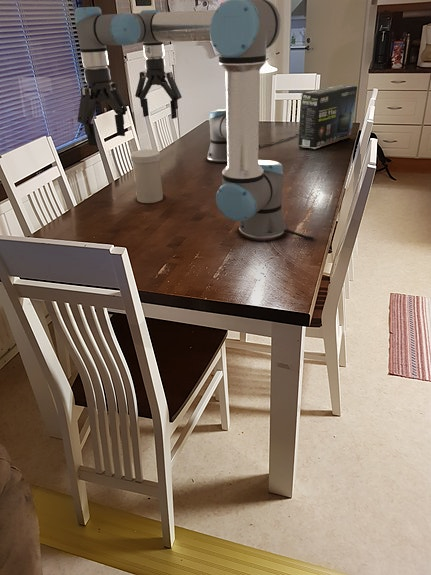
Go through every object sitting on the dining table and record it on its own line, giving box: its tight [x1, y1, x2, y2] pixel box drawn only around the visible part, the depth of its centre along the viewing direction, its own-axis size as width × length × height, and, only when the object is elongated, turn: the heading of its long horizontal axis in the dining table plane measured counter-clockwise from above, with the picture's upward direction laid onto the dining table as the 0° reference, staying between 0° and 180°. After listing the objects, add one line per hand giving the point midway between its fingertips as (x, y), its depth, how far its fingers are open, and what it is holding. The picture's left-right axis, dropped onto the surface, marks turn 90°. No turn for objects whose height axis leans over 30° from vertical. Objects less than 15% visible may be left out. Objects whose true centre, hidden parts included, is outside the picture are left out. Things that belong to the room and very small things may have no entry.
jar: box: [131, 159, 164, 204], centre depth 176 cm, size 10×10×17 cm
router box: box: [297, 84, 358, 151], centre depth 238 cm, size 36×11×27 cm, turn 134°
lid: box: [129, 148, 161, 164], centre depth 172 cm, size 11×11×2 cm
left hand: (160, 117), depth 183 cm, fingers open, 13 cm apart
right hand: (107, 140), depth 148 cm, fingers open, 13 cm apart
